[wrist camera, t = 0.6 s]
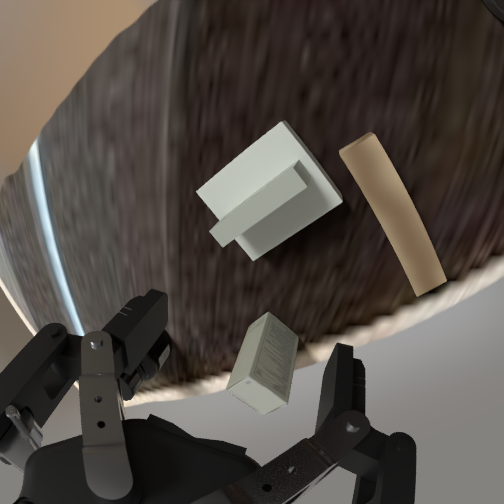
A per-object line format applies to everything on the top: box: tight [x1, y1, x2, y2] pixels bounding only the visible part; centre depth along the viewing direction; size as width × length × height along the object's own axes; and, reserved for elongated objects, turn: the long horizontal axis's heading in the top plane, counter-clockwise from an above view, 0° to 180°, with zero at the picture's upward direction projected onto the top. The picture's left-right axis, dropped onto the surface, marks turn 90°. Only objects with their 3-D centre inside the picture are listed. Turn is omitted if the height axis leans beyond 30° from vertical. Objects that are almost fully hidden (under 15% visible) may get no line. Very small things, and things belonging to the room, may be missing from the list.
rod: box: [339, 132, 447, 297], centre depth 31 cm, size 4×18×4 cm, turn 36°
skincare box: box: [226, 312, 299, 415], centre depth 38 cm, size 6×4×12 cm
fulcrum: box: [196, 121, 343, 261], centre depth 32 cm, size 12×10×8 cm
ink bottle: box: [119, 331, 172, 401], centre depth 45 cm, size 10×9×12 cm
